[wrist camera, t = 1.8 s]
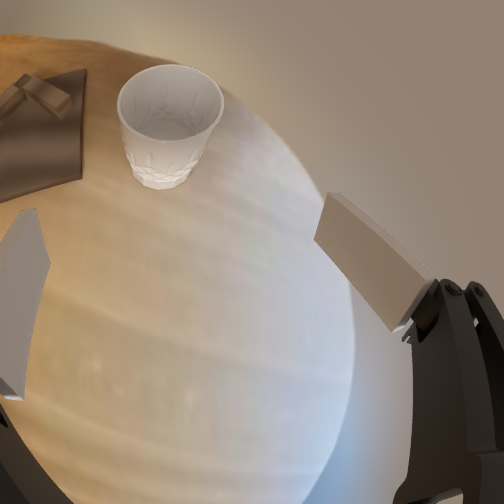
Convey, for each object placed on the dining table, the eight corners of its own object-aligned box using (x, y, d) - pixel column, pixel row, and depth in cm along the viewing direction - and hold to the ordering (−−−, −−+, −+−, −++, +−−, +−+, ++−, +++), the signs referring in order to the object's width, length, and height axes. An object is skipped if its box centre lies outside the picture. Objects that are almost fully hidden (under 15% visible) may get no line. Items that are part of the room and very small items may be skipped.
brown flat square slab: (82, 178, 23) (74, 163, 20) (-33, 216, 17) (-48, 207, 14) (86, 73, 24) (83, 55, 21) (-15, 108, 18) (-23, 94, 15)
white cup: (152, 118, 26) (159, 52, 17) (212, 150, 28) (242, 91, 19) (109, 173, 24) (94, 113, 15) (175, 210, 26) (188, 162, 16)
